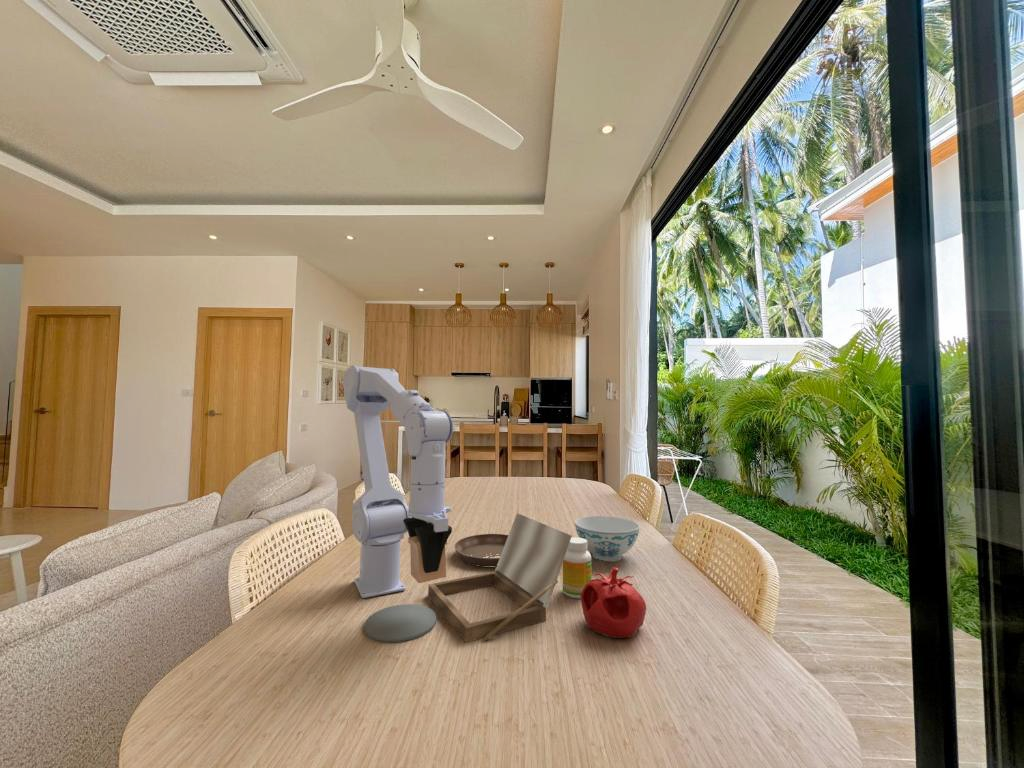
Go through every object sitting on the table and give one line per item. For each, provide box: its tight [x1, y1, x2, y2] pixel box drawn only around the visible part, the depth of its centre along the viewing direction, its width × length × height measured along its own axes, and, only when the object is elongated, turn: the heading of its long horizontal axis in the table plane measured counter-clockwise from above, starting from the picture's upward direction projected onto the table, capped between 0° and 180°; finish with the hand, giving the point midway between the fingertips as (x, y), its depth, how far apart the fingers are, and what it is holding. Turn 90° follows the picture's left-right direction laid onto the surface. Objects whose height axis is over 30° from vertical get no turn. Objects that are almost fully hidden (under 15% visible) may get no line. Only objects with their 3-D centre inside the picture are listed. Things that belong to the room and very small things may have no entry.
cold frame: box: [427, 512, 573, 643], centre depth 74 cm, size 19×19×13 cm
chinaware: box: [574, 515, 641, 562], centre depth 99 cm, size 15×15×8 cm
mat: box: [364, 603, 437, 643], centre depth 67 cm, size 11×11×1 cm
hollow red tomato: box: [580, 566, 647, 639], centre depth 66 cm, size 10×10×9 cm
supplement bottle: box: [562, 536, 593, 599], centre depth 79 cm, size 5×5×10 cm
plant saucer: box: [454, 533, 509, 567], centre depth 99 cm, size 18×18×3 cm
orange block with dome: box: [407, 536, 448, 584], centre depth 69 cm, size 5×5×6 cm
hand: (425, 566), depth 69 cm, fingers closed on orange block with dome, 5 cm apart
